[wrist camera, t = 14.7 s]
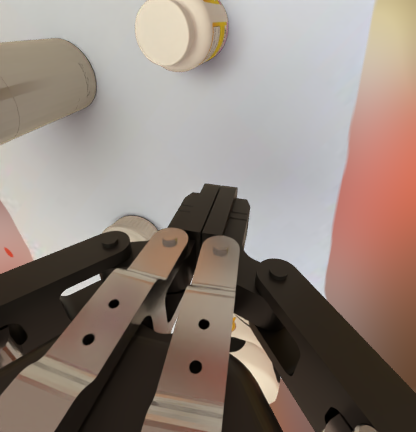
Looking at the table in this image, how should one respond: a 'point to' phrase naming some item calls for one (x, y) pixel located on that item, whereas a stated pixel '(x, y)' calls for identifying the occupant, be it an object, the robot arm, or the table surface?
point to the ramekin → (134, 228)
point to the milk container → (254, 357)
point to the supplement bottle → (181, 32)
